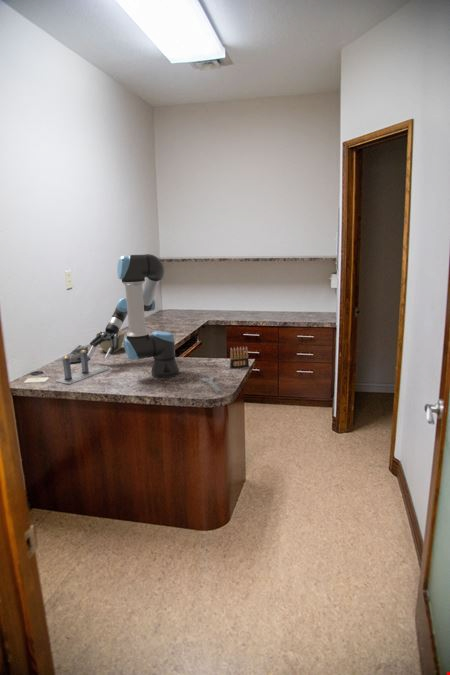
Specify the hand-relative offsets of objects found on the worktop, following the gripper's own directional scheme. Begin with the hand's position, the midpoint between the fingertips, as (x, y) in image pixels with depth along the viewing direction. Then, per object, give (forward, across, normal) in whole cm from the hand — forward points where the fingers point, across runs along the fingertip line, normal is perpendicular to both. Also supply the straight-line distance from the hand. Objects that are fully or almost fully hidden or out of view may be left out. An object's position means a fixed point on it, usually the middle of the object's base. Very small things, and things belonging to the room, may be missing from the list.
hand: (97, 357), depth 255 cm
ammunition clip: (-21, -72, -31) cm, 81 cm away
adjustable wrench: (+4, -74, -7) cm, 74 cm away
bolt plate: (+13, 0, +3) cm, 13 cm away
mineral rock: (-1, +25, -11) cm, 27 cm away
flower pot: (-20, +23, -30) cm, 43 cm away
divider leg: (+11, 0, +3) cm, 11 cm away
